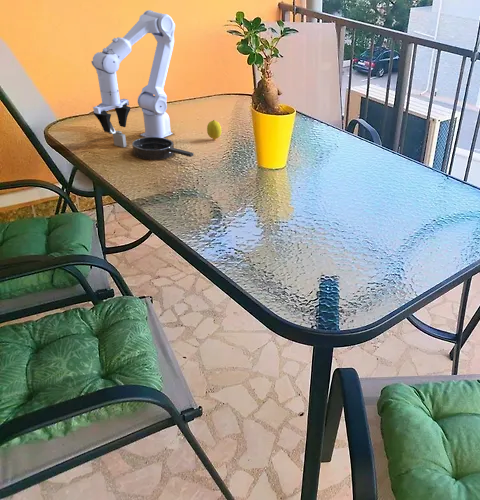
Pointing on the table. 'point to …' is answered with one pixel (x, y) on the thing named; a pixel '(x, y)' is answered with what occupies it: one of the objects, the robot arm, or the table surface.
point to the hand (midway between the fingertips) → (115, 129)
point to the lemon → (214, 129)
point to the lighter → (118, 137)
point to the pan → (152, 148)
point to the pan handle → (181, 152)
